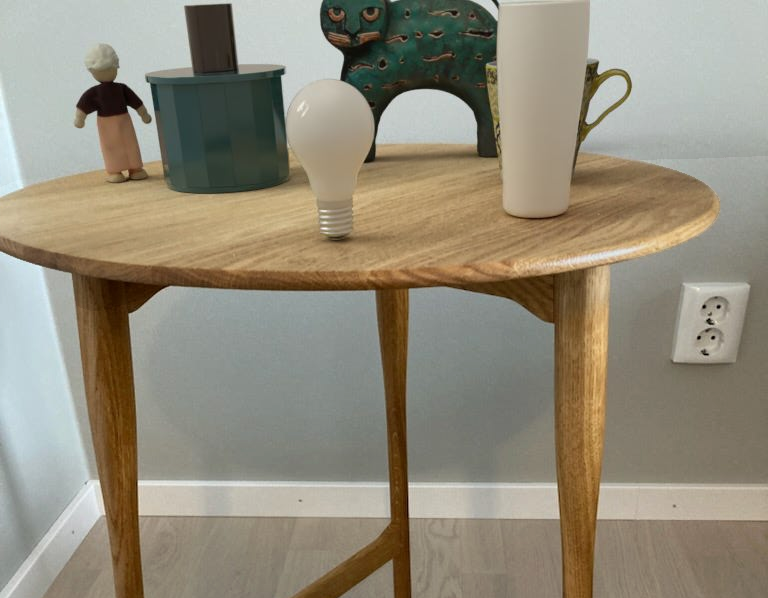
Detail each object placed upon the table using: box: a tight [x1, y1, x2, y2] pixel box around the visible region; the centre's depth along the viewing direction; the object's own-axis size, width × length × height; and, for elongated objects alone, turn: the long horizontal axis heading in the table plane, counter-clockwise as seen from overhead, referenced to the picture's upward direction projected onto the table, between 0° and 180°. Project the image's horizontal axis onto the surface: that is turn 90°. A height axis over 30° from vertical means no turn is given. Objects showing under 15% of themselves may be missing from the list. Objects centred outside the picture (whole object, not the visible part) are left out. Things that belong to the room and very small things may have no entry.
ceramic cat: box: [319, 0, 500, 163], centre depth 95 cm, size 20×6×20 cm, turn 88°
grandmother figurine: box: [73, 42, 153, 183], centre depth 92 cm, size 8×4×13 cm, turn 130°
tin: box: [149, 75, 291, 194], centre depth 90 cm, size 12×12×10 cm
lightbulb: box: [285, 78, 375, 241], centre depth 66 cm, size 6×6×11 cm
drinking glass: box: [496, 0, 591, 219], centre depth 70 cm, size 7×7×15 cm
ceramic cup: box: [486, 57, 633, 182], centre depth 83 cm, size 13×10×10 cm
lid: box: [144, 2, 287, 84], centre depth 86 cm, size 13×13×7 cm
